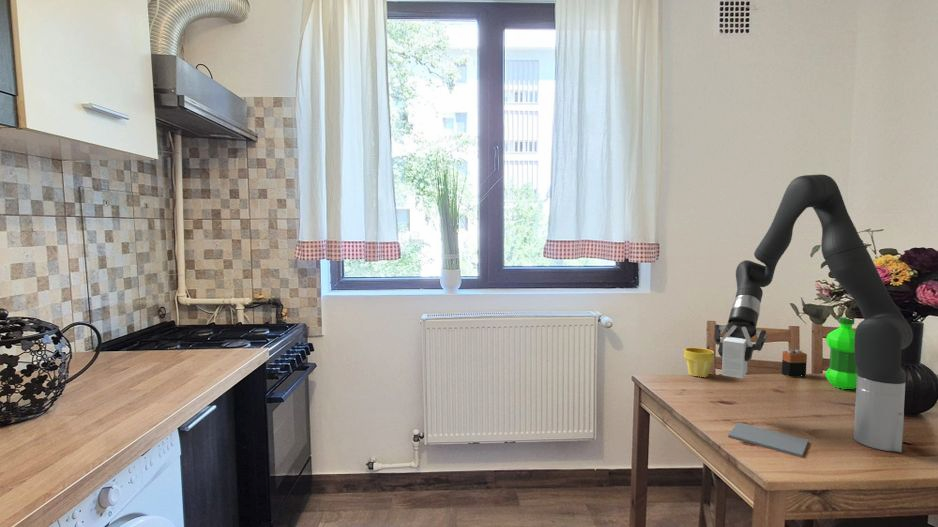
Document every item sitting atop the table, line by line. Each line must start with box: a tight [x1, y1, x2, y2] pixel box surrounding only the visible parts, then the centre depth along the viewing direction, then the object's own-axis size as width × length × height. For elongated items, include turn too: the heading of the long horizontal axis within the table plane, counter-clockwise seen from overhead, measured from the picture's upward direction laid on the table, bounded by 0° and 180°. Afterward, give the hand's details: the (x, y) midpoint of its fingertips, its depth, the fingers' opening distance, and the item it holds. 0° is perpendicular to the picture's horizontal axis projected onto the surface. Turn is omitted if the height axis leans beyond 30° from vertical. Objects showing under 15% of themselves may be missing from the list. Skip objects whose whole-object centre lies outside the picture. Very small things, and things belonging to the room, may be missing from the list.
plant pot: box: [683, 346, 715, 378], centre depth 173 cm, size 10×10×10 cm
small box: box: [721, 337, 748, 379], centre depth 133 cm, size 8×6×10 cm
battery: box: [781, 349, 808, 377], centre depth 172 cm, size 4×7×10 cm, turn 93°
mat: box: [727, 422, 809, 458], centre depth 118 cm, size 16×11×1 cm
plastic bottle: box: [825, 316, 857, 390], centre depth 158 cm, size 10×10×25 cm
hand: (733, 357), depth 132 cm, fingers closed on small box, 6 cm apart
